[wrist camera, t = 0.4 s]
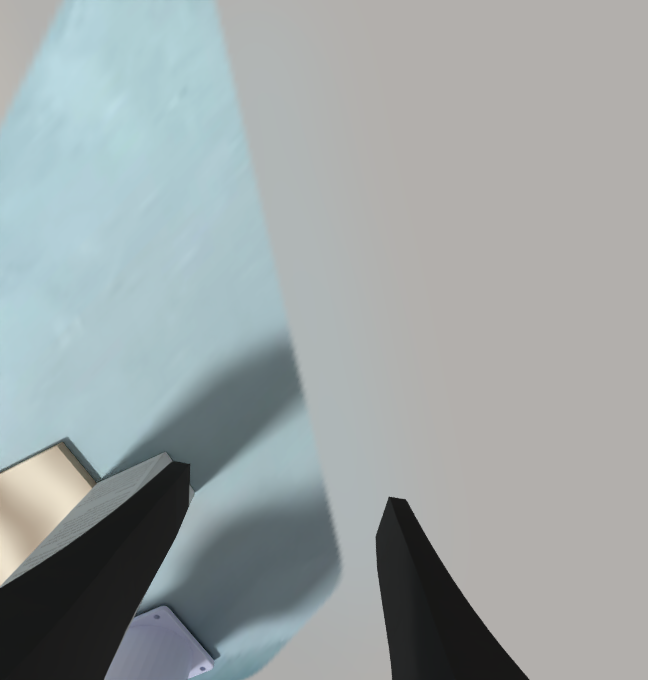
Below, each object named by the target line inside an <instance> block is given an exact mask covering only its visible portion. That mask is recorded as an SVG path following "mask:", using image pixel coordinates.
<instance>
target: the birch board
mask: <svg viewBox="0 0 648 680" xmlns="http://www.w3.org/2000/svg"><path fill="white" fill-rule="evenodd" d="M96 484H97V483H96V482H95V481H94V479H93V478H92V477H91V476H90V475H89V473H88V472H87V471H86V470H85V469H84V467H83V466H82V465H81V464H80V463H79V461H78V460H77V459H76V458H75V457H74V455H73V454H72V453H71V452H70V450H69V449H68V448H67V447H66V446H65V444H64V443H63V442H61V443H59V444H57V445H55V446H53V447H51V448H49V449H47V450H45V451H43V452H41V453H39V454H37V455H35V456H33V457H31V458H29V459H27V460H25V461H23V462H21V463H19V464H17V465H15V466H13V467H11V468H9V469H7V470H5V471H3V472H1V473H0V586H1V585H2V584H3V583H4V582H5V580H6V579H7V578H8V577H9V576H10V575H11V574H12V573H13V572H14V571H15V570H16V569H17V568H18V567H19V566H20V565H21V564H22V563H23V562H24V561H25V559H26V558H27V557H28V556H29V555H30V554H31V553H32V552H33V551H34V550H35V549H36V548H37V547H38V546H39V545H40V544H41V542H42V541H43V540H44V539H45V538H46V537H47V536H48V535H49V534H50V533H51V532H52V531H53V530H54V529H55V527H56V526H57V525H58V524H59V523H60V522H61V521H62V520H63V519H64V518H65V517H66V516H67V515H68V514H69V513H70V511H71V510H72V509H73V508H74V507H75V506H76V505H77V504H78V503H79V502H80V501H81V500H82V499H83V498H84V497H85V496H86V495H87V494H88V492H89V491H90V490H91V489H92V488H93V487H94V486H95V485H96Z"/></svg>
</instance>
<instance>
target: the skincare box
mask: <svg viewBox="0 0 648 680" xmlns="http://www.w3.org/2000/svg"><path fill="white" fill-rule="evenodd" d="M171 462H173V461H172V459H171V458H170V457H169V455H168V454H167V453H166V452H163V453H161V454H159V455H157V456H155V457H153V458H151V459H148V460H146V461H144V462H142V463H140V464H138V465H135V466H133V467H131V468H129V469H127V470H125V471H122V472H120V473H118V474H116V475H114V476H112V477H109V478H107V479H105V480H103V481H100V482H98V483H97V484H96V485H95V486H94V487H93V488H92V489H91V490H90V491H89V492H88V494H87V495H86V496H85V497H84V498H83V499H82V500H81V501H80V502H79V503H78V504H77V505H76V506H75V507H74V508H73V509H72V510H71V511H70V513H69V514H68V515H67V516H66V517H65V518H64V519H63V520H62V521H61V522H60V523H59V524H58V525H57V526H56V527H55V529H54V530H53V531H52V532H51V533H50V534H49V535H48V536H47V537H46V538H45V539H44V540H43V541H42V542H41V544H40V545H39V546H38V547H37V548H36V549H35V550H34V551H33V552H32V553H31V554H30V555H29V556H28V557H27V558H26V559H25V561H24V562H23V563H22V564H21V565H20V566H19V567H18V568H17V569H16V570H15V571H14V572H13V573H12V574H11V575H10V576H9V577H8V578H7V579H6V580H5V582H4V583H3V584H2V585H1V586H0V588H1V587H2V586H4V585H6V584H7V583H9V582H11V581H12V580H14V579H16V578H17V577H19V576H20V575H22V574H24V573H25V572H27V571H28V570H30V569H32V568H33V567H35V566H36V565H38V564H40V563H41V562H43V561H44V560H46V559H47V558H49V557H50V556H52V555H53V554H55V553H56V552H58V551H59V550H61V549H62V548H64V547H65V546H67V545H68V544H69V543H71V542H72V541H74V540H75V539H77V538H78V537H79V536H81V535H82V534H84V533H85V532H86V531H88V530H89V529H90V528H92V527H93V526H94V525H96V524H97V523H98V522H100V521H101V520H102V519H103V518H105V517H106V516H107V515H109V514H110V513H111V512H113V511H114V510H115V509H116V508H118V507H119V506H120V505H121V504H123V503H124V502H125V501H126V500H127V499H129V498H130V497H131V496H132V495H134V494H135V493H136V492H137V491H138V490H140V489H141V488H142V487H143V486H144V485H145V484H147V483H148V482H149V481H150V480H151V479H152V478H154V477H155V476H156V475H157V474H158V473H159V472H160V471H162V470H163V469H164V468H165V467H166V466H167V465H168V464H169V463H171ZM194 494H195V493H194V490H193V489H192V487H191V486H190V485H189V505H190V503H191V501H192V499H193V497H194ZM146 592H147V591H146ZM145 594H146V593H145ZM144 596H145V595H144ZM143 598H144V597H143ZM142 600H143V599H142ZM141 602H142V601H141ZM141 602H140V604H141ZM140 604H139V606H140ZM139 606H138V608H139ZM138 608H137V610H138ZM137 610H136V612H137ZM136 612H135V614H136ZM135 614H134V616H135ZM134 616H133V618H134ZM133 618H132V620H133ZM132 620H131V622H132ZM131 622H130V624H131ZM130 624H129V626H130ZM129 626H128V628H129ZM128 628H127V630H128ZM127 630H126V632H127ZM126 632H125V634H126ZM125 634H124V636H125ZM124 636H123V638H122V641H123V639H124ZM122 641H121V643H122ZM121 643H120V645H121ZM120 645H119V647H120ZM119 647H118V649H119ZM118 649H117V651H118ZM116 653H117V652H116ZM115 655H116V654H115ZM114 657H115V656H114ZM113 659H114V658H113ZM112 661H113V660H112Z"/></svg>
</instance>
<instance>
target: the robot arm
mask: <svg viewBox="0 0 648 680" xmlns="http://www.w3.org/2000/svg"><path fill="white" fill-rule="evenodd" d="M189 484H190V464H187V463H181V462H175V461H173V462H171V463H169V464H168V465H167V466H166V467H165V468H164V469H163V470H162V471H160V472H159V473H158V474H157V475H156V476H155V477H154V478H152V479H151V480H150V481H149V482H148V483H147V484H145V485H144V486H143V487H142V488H141V489H140V490H138V491H137V492H136V493H135V494H134V495H132V496H131V497H130V498H129V499H127V500H126V501H125V502H124V503H123V504H121V505H120V506H119V507H118V508H116V509H115V510H114V511H113V512H111V513H110V514H109V515H107V516H106V517H105V518H103V519H102V520H101V521H100V522H98V523H97V524H96V525H94V526H93V527H92V528H90V529H89V530H88V531H86V532H85V533H84V534H82V535H81V536H79V537H78V538H77V539H75V540H74V541H72V542H71V543H69V544H68V545H67V546H65V547H64V548H62V549H61V550H59V551H58V552H56V553H55V554H53V555H52V556H50V557H49V558H47V559H46V560H44V561H43V562H41V563H40V564H38V565H36V566H35V567H33V568H32V569H30V570H28V571H27V572H25V573H24V574H22V575H20V576H19V577H17V578H16V579H14V580H12V581H11V582H9V583H7V584H6V585H4V586H2V587H1V588H0V680H188V679H189V678H191V677H194V676H196V675H199V674H201V673H204V672H207V671H209V670H211V669H213V667H214V660H213V659H212V657H211V656H210V655H209V654H208V653H207V652H206V650H205V649H204V648H203V647H202V646H201V645H200V644H199V642H198V641H197V640H196V639H195V638H194V637H193V635H192V634H191V633H190V632H189V631H188V630H187V628H186V627H185V626H184V625H183V624H182V623H181V622H180V620H179V619H178V618H177V617H176V616H175V615H174V613H173V612H172V611H171V610H170V609H169V608H168V607H167V606H160V607H158V608H156V609H153V610H151V611H149V612H146V613H144V614H141V615H139V616H137V617H134V618H133V616H134V614H135V612H136V610H137V608H138V606H139V604H140V602H141V601H142V599H143V597H144V595H145V593H146V591H147V590H148V588H149V586H150V584H151V582H152V580H153V579H154V577H155V575H156V573H157V571H158V570H159V568H160V566H161V564H162V562H163V560H164V558H165V557H166V555H167V553H168V551H169V549H170V547H171V546H172V544H173V542H174V540H175V538H176V536H177V534H178V531H179V529H180V527H181V524H182V522H183V519H184V517H185V515H186V512H187V510H188V507H189ZM376 555H377V571H378V578H379V585H380V591H381V598H382V605H383V611H384V618H385V625H386V631H387V638H388V644H389V651H390V660H391V669H392V680H529V679H528V677H527V676H526V675H525V674H524V673H523V672H522V670H521V669H520V668H519V667H518V666H517V664H516V663H515V662H514V661H513V660H512V659H511V657H510V656H509V655H508V654H507V653H506V651H505V650H504V649H503V648H502V647H501V645H500V644H499V643H498V641H497V640H496V639H495V638H494V636H493V635H492V634H491V633H490V631H489V630H488V629H487V627H486V626H485V625H484V623H483V622H482V620H481V619H480V618H479V616H478V615H477V614H476V612H475V611H474V610H473V608H472V607H471V606H470V604H469V603H468V601H467V600H466V598H465V597H464V596H463V594H462V592H461V591H460V589H459V588H458V586H457V585H456V583H455V582H454V581H453V579H452V577H451V576H450V574H449V573H448V571H447V570H446V568H445V566H444V565H443V563H442V561H441V560H440V558H439V557H438V555H437V553H436V552H435V550H434V548H433V547H432V545H431V543H430V542H429V540H428V538H427V536H426V535H425V533H424V531H423V530H422V528H421V526H420V524H419V522H418V520H417V519H416V517H415V515H414V513H413V511H412V510H411V508H410V506H409V504H408V502H407V501H406V499H399V498H394V497H389V498H388V501H387V504H386V507H385V510H384V513H383V516H382V519H381V522H380V525H379V528H378V531H377V534H376ZM132 618H133V620H132ZM131 620H132V622H131ZM130 622H131V624H130ZM129 624H130V626H129ZM128 626H129V628H128ZM127 628H128V630H127ZM126 630H127V632H126ZM125 632H126V634H125ZM124 634H125V636H124ZM123 636H124V639H123V641H122V638H123ZM121 641H122V643H121ZM120 643H121V645H120ZM119 645H120V647H119ZM118 647H119V649H118ZM117 649H118V651H117ZM116 652H117V653H116ZM115 654H116V655H115ZM114 656H115V657H114ZM113 658H114V659H113ZM112 660H113V661H112Z"/></svg>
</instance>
